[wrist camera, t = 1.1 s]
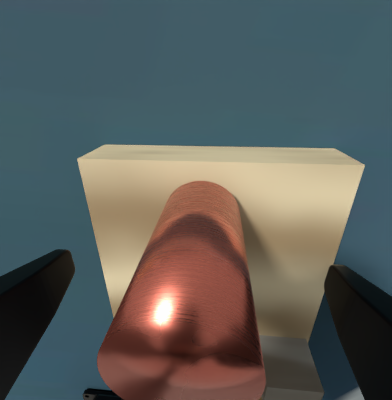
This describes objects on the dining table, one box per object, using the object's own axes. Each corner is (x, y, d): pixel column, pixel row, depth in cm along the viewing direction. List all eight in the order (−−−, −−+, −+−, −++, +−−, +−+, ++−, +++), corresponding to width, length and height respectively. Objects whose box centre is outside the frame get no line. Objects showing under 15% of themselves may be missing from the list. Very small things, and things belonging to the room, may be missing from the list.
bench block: (276, 378, 22) (294, 470, 17) (143, 365, 24) (120, 448, 18) (334, 148, 13) (417, 193, 7) (104, 144, 14) (32, 182, 9)
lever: (227, 403, 19) (232, 569, 12) (173, 398, 19) (150, 556, 13) (251, 180, 11) (301, 330, 4) (154, 177, 11) (60, 312, 4)
